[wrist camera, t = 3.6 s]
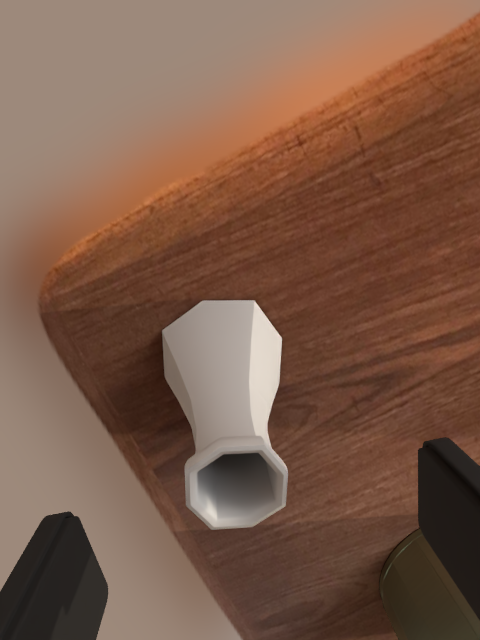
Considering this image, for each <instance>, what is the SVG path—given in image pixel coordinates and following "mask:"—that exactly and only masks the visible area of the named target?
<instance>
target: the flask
mask: <svg viewBox="0 0 480 640" xmlns="http://www.w3.org/2000/svg"><path fill="white" fill-rule="evenodd" d="M162 339H163V358H164V376H165V379H166V381H167V383H168V384H169V386H170V388H171V389H172V391H173V393H174V394H175V396H176V398H177V399H178V401H179V403H180V405H181V407H182V409H183V411H184V413H185V415H186V417H187V419H188V421H189V423H190V425H191V427H192V432H193V437H194V442H195V447H196V452H195V455H194V456H192V457H191V458H189V459H188V460H187V462H186V464H185V489H186V506H187V507H188V508H189V509H190V510H191V511H192V512H193V513H195V514H196V515H197V516H198V517H199V518H200V519H201V520H202V521H203V522H204V523H205V524H206V525H207V526H208V527H209V528H210V529H212V530H216V529H230V528H245V527H253V526H255V525H256V524H258V523H259V522H261V521H263V520H264V519H266V518H267V517H269V516H270V515H272V514H274V513H275V512H277V511H278V510H280V509H281V508H283V507H285V506H286V493H287V480H288V470H287V467H286V465H285V464H284V462H283V461H282V460H281V459H280V457H279V456H278V455H277V454H276V453H275V452H274V450H273V449H272V448H271V444H270V440H269V436H268V432H267V422H268V419H269V415H270V411H271V407H272V403H273V400H274V397H275V395H276V392H277V389H278V385H279V379H280V363H281V346H282V338H281V336H280V335H279V334H278V332H277V331H276V330H275V328H274V327H273V325H272V324H271V323H270V321H269V320H268V319H267V317H266V316H265V315H264V313H263V312H262V310H261V309H260V308H259V306H258V305H257V304H256V302H255V301H254V300H229V301H201V302H200V303H199V304H197V305H196V306H195V307H193V308H192V309H191V310H189V311H188V312H187V313H185V314H184V315H182V316H181V317H180V318H178V319H177V320H176V321H174V322H173V323H172V324H170V325H169V326H168V327H166V328H165V329H163V330H162Z"/></svg>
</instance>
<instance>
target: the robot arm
mask: <svg viewBox="0 0 480 640" xmlns="http://www.w3.org/2000/svg"><path fill="white" fill-rule="evenodd" d="M418 521H419V526H420V529H421V532H422V534H423V536H424V537H425V539H426V540H427V542H428V543H429V545H430V546H431V548H432V549H433V551H434V552H435V554H436V555H437V557H438V558H439V560H440V561H441V563H442V564H443V566H444V567H445V569H446V570H447V572H448V573H449V575H450V577H451V578H452V580H453V581H454V583H455V584H456V586H457V587H458V589H459V590H460V592H461V593H462V595H463V596H464V598H465V599H466V601H467V602H468V604H469V605H470V607H471V608H472V610H473V611H474V613H475V614H476V616H477V617H478V619H479V620H480V466H479V465H478V464H477V463H476V462H474V461H473V460H472V459H471V458H470V457H469V456H468V455H467V454H466V453H465V452H464V451H462V450H461V449H460V448H459V447H458V446H457V445H456V444H455V443H454V442H453V441H452V440H450V439H449V438H446V437H445V438H440V439H434V440H429V441H425V442H424V443H423V448H419V450H418ZM107 598H108V586H107V582H106V580H105V578H104V575H103V573H102V571H101V568H100V566H99V563H98V561H97V559H96V556H95V554H94V552H93V549H92V547H91V545H90V542H89V540H88V538H87V536H86V533H85V530H84V529H83V526H82V524H81V521H80V519H79V517H77V516H74V515H73V514H72V513H71V512H64V513H59V514H53V515H48V516H46V517H45V518H44V519H43V520H42V521H41V523H40V525H39V526H38V528H37V530H36V531H35V533H34V535H33V537H32V538H31V540H30V542H29V543H28V545H27V547H26V548H25V550H24V552H23V554H22V555H21V557H20V559H19V560H18V562H17V564H16V566H15V567H14V569H13V571H12V572H11V574H10V576H9V578H8V579H7V581H6V583H5V585H4V586H3V588H2V590H1V591H0V640H96V637H97V634H98V631H99V627H100V624H101V620H102V616H103V613H104V609H105V606H106V603H107Z"/></svg>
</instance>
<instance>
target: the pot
mask: <svg viewBox="0 0 480 640" xmlns="http://www.w3.org/2000/svg"><path fill="white" fill-rule="evenodd" d="M379 590H380V596H381V599H382V601H383V607H384V609H385V611H386V613H387V615H388V618H389V620H390V622H391V624H392V626H393V629H394V631H395V633H396V635H397V637H398V640H480V620H479V619H478V617H477V616H476V614H475V613H474V611H473V610H472V608H471V607H470V605H469V604H468V602H467V601H466V599H465V598H464V596H463V595H462V593H461V592H460V590H459V589H458V587H457V586H456V584H455V583H454V581H453V580H452V578H451V577H450V575H449V573H448V572H447V570H446V569H445V567H444V566H443V564H442V563H441V561H440V560H439V558H438V557H437V555H436V554H435V552H434V551H433V549H432V548H431V546H430V545H429V543H428V542H427V540H426V539H425V537H424V536H423V534H422V532H421V529H418V530H417V531H415V532H414V533H412V534H411V535H410V536H408V537H407V538H406V539H405V540H404V541H402V542H401V543H400V544H399V545H398V546H397V548H396V549H395V550H394V551H393V552H392V554H391V555H390V556H389V558H388V559H387V561H386V563H385V565H384V567H383V570H382V572H381V576H380V581H379Z"/></svg>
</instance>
